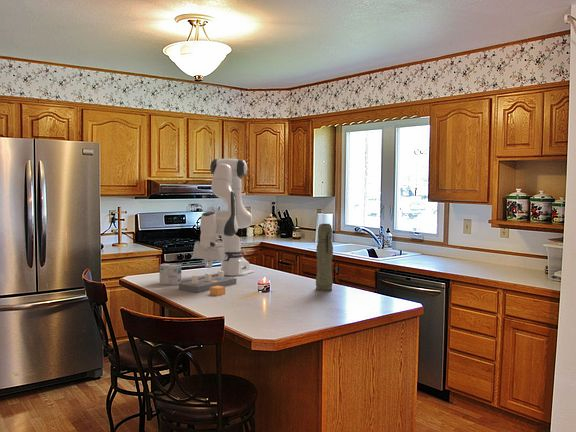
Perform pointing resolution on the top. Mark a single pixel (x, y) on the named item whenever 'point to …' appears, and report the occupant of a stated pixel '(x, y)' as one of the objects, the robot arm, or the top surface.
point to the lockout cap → (217, 290)
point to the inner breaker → (220, 274)
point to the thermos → (324, 258)
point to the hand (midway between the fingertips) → (208, 267)
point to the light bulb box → (170, 274)
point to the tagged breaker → (208, 277)
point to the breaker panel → (206, 284)
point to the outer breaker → (194, 279)
